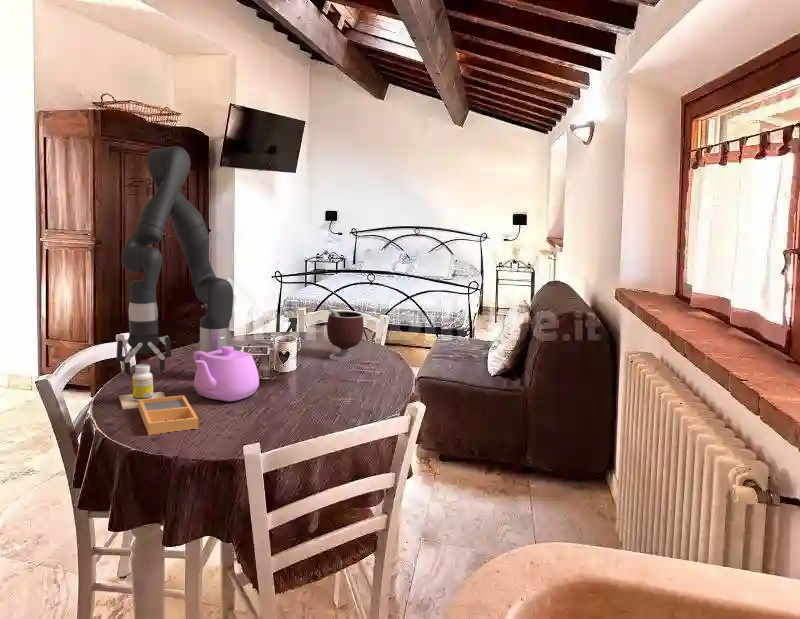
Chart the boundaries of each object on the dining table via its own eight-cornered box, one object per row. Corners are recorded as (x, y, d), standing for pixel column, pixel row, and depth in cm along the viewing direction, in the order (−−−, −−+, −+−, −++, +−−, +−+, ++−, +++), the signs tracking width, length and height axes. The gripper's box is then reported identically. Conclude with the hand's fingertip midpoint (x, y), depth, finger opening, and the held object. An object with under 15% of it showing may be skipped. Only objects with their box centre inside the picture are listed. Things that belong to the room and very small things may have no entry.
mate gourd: (347, 351, 255) (349, 302, 251) (369, 359, 245) (371, 308, 241) (315, 356, 244) (317, 305, 241) (336, 364, 234) (339, 311, 231)
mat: (162, 394, 190) (162, 391, 190) (168, 404, 181) (168, 401, 181) (119, 398, 184) (119, 395, 184) (122, 409, 176) (122, 406, 176)
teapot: (211, 382, 205) (211, 336, 202) (266, 392, 197) (267, 345, 195) (160, 401, 184) (159, 350, 181) (220, 414, 176) (220, 361, 174)
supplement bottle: (136, 395, 185) (136, 362, 183) (155, 396, 186) (155, 363, 184) (130, 401, 180) (129, 367, 178) (149, 402, 180) (149, 368, 179)
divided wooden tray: (184, 405, 182) (184, 395, 181) (198, 429, 164) (198, 418, 164) (138, 409, 176) (138, 399, 175) (148, 435, 159) (148, 423, 158)
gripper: (167, 313, 185) (168, 367, 188) (114, 316, 178) (116, 372, 181) (172, 318, 179) (173, 374, 182) (117, 321, 172) (119, 379, 175)
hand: (144, 373), depth 181 cm, fingers open, 8 cm apart
